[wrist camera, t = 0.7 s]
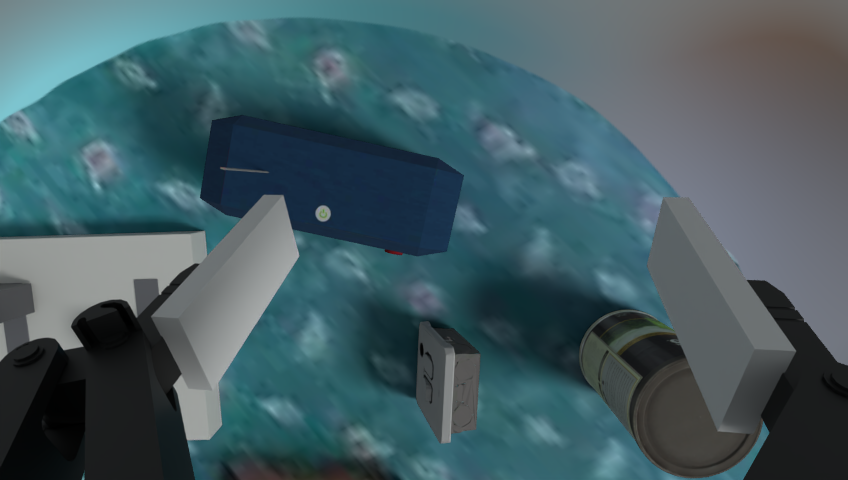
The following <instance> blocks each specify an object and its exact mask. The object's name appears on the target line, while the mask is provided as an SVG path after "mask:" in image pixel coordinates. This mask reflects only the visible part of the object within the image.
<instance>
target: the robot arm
mask: <svg viewBox="0 0 848 480" xmlns="http://www.w3.org/2000/svg"><path fill="white" fill-rule="evenodd" d="M298 257H299V253H298V249H297V246H296V242H295V238H294V234H293V230H292V227H291V223H290V219H289V215H288V211H287V208H286V204H285V200H284V196H283V195H263V196H262V197H261V198H260V200H259V201H258V202H257V203H256V204H255V205H254V206H253V207H252V208H251V209H250V210H249V211H248V213H247V214H246V215H245V216H244V217H243V218H242V219H241V220H240V221H239V222H238V223H237V224H236V225H235V227H234V228H233V229H232V230H231V231H230V232H229V233H228V234H227V235H226V236H225V237H224V238H223V239H222V241H221V242H220V243H219V244H218V245H217V246H216V247H215V248H214V249H213V250H212V251H211V252H210V254H209V255H208V256H207V257H206V258H205V259H204V260H203V261H202V262H201V263H200V264H198V263H195V264H193V265H192V266H190V267H188V268H187V269H185V270H184V271H182V272H180V273H179V274H178V275H177V276H176V277H175V278H174V279H173V280H172V282H171V283H170V285H169V286H167V287H166V288H165V289H164V290H163V291H162V292H161V295H158V296H157V297H156V298H155V299H154V300H153V301H152V302H151V303H150V304H149V305H148V306H147V308H146V309H145V310H144V311H143V312H142V313H141V314H140V315H139V316H138V317H137V318H136V316H135V314H134V313H133V311H132V309H131V307H130V305H129V304H128V302H127V301H124V300H121V299H116V300H108V301H104V302H100V303H98V304H96V305H93V306H91V307H89V308H88V309H86V310H85V311H83V312H82V313H80V314H79V315H78V316H77V317H76V318H75V319H74V320H73V323H72V325H71V328H72V330H73V331H74V333H75V334H76V336H77V337H78V339H79V340H80V342H81V343H82V345H83V346H84V347H78V348H73V349H67V350H63V349H62V347H61V346H60V344H59V343H58V342H57V340H56V339H54V338H48V337H47V338H39V339H36V340H33V341H30V342H26V343H24V344H22V345H20V346H18V347H16V348H15V349H14V350H12V351H11V352H10V353H8V354H7V355H6V356H5V357H4V358H3V359H2V360H1V361H0V480H82V477H83V473H84V470H85V480H195V477H194V472H193V467H192V463H191V458H190V453H189V448H188V443H187V438H186V433H185V428H184V423H183V418H182V413H181V408H180V404H179V399H178V394H177V392H176V390H175V388H174V386H173V385H174V384H175V382H176V381H177V380H178V378H179V377H180V376H181V375H182V377H183V379H184V381H185V383H186V385H187V387H188V389H196V390H209V391H213V390H214V389H215V387H216V385H217V384H218V382H219V381H220V379H221V378H222V376H223V375H224V373H225V371H226V370H227V368H228V367H229V365H230V364H231V362H232V360H233V359H234V357H235V356H236V354H237V353H238V351H239V350H240V348H241V346H242V345H243V343H244V342H245V340H246V339H247V337H248V335H249V334H250V332H251V331H252V329H253V328H254V326H255V325H256V323H257V321H258V320H259V318H260V317H261V315H262V314H263V312H264V310H265V309H266V307H267V306H268V304H269V303H270V301H271V300H272V298H273V296H274V295H275V293H276V292H277V290H278V289H279V287H280V285H281V284H282V282H283V281H284V279H285V278H286V276H287V275H288V273H289V271H290V270H291V268H292V267H293V265H294V264H295V262H296V260H297V259H298ZM647 268H648V270H649V272H650V275H651V277H652V279H653V282H654V284H655V286H656V288H657V291H658V293H659V295H660V298H661V300H662V302H663V305H664V307H665V309H666V312H667V314H668V316H669V319H670V321H671V323H672V326H673V328H674V330H675V333H676V335H677V337H678V340H679V342H680V344H681V347H682V349H683V351H684V354H685V356H686V358H687V361H688V363H689V365H690V368H691V370H692V372H693V375H694V377H695V379H696V382H697V384H698V386H699V389H700V391H701V393H702V396H703V398H704V400H705V403H706V405H707V407H708V410H709V412H710V414H711V417H712V419H713V421H714V424H715V426H716V428H717V431H721V432H733V433H746V434H753V433H754V432H755V430H756V428H757V426H758V424H759V422H760V420H761V418H762V419H763V421H764V423H765V425H766V427H767V429H768V430H769V432H770V433H769V435H768V437H767V439H766V440H765V442H764V444H763V446H762V447H761V449H760V451H759V453H758V455H757V456H756V458H755V460H754V462H753V463H752V465H751V467H750V469H749V470H748V472H747V474H746V476H745V477H744V479H743V480H848V366H847V365H844V364H841V363H838V362H837V361H836V360H835V359H834V357H833V356H832V355H831V353H830V352H829V351H828V350H827V348H826V347H825V346H824V344H823V343H822V342H821V341H820V339H819V338H818V337H817V335H816V334H815V333H814V332H813V330H812V329H811V328H810V326H809V325H808V324H807V323H806V322H804V319H803V317H802V316H801V315H800V314H799V312H798V311H797V310H795V307H794V306H793V305H792V304H791V302H790V301H789V299H788V298H787V297H786V296H785V294H784V293H783V292H781V291H780V290H778V289H777V288H775V287H774V286H772V285H771V284H770V283H768V282H766V281H759V280H746V279H745V277H744V276H743V274H742V273H741V272H740V270H739V269H738V267H737V266H736V264H735V263H734V262H733V260H732V259H731V257H730V256H729V254H728V253H727V252H726V250H725V249H724V247H723V246H722V244H721V243H720V242H719V240H718V239H717V238H716V236H715V235H714V233H713V232H712V230H711V229H710V227H709V226H708V224H707V223H706V222H705V220H704V219H703V217H702V216H701V214H700V213H699V212H698V210H697V209H696V207H695V206H694V205H693V203H692V202H691V200H690V199H689V198H671V197H663V201H662V205H661V209H660V213H659V217H658V222H657V226H656V230H655V234H654V238H653V243H652V247H651V251H650V255H649V259H648V264H647Z"/></svg>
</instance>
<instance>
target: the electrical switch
mask: <svg viewBox="0 0 848 480" xmlns="http://www.w3.org/2000/svg"><path fill="white" fill-rule="evenodd" d="M452 340H453V341H452ZM473 353H479V354H473ZM475 365H476V366H475ZM479 370H480V352H479V351H478V350H476V349H475V348H474V347H473V346H472V345H471V344H470V343H469V342H468V341H467V340H466V339H464V338H463V337H462V336H461V335H460V334H459V333H458V332H457V331H456V330H455V329H454V328H450V329H443V328H432V327H431V324H430V323H429V321H426V322H421V323H420V325H419V340H418V364H417V387H416V400H417V404H418V406H419V407H420V409H421V411H422V413H423V415H424V416H425V418H426V420H427V422H428V423H429V425H430V427H431V429H432V430H433V432H434V434H435V436H436V437H437V439H438V441H439V443H450V437H451V434H452V433H460V432H462V431H467V430H476V420H477V404H478V387H479ZM462 383H465V384H462ZM457 385H458V387H457ZM456 401H457V403H456ZM466 405H468V406H466ZM472 415H473V416H472Z"/></svg>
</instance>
